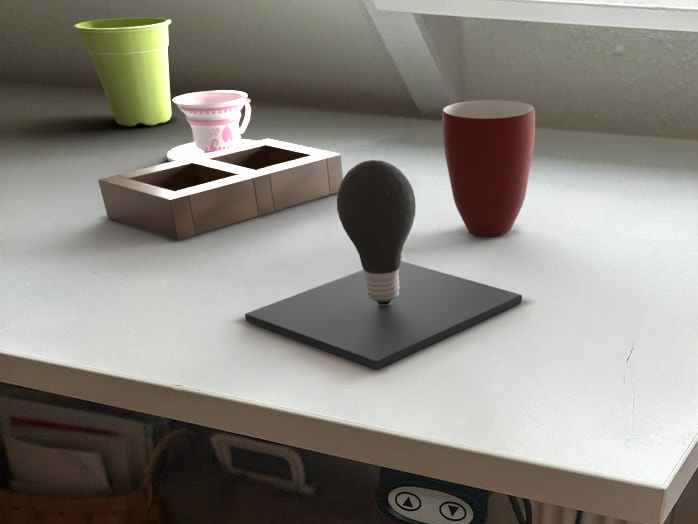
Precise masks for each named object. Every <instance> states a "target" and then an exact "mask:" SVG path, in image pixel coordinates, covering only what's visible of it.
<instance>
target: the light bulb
mask: <svg viewBox="0 0 698 524" xmlns="http://www.w3.org/2000/svg"><path fill="white" fill-rule="evenodd" d="M416 205H417V204H416V197H415V193H414V189H413V186H412V184H411V183H410V181H409V179H408V178H407V176H406V175H405V174H404V173H403V172H402V170H400V169H399V168H398V167H397V166H395V165H393V164H392V163H390V162H387V161H385V160H381V159H369V160H365V161H362V162H359V163H357V164H356V165H354V166H353V167H352V168H351V169H349V170H348V171H347V172H346V174H345V175H344V176H343V180H342V182H341V184H340V187H339V190H338V193H337V195H336V210H337V214H338V218H339V219H338V220H339V221H340V223H341V226H342V227H343V231H344V232H345V233H346V235H347V236H348V238H349V240H350V241H351V243H352V244H353V246H354V248H355V249H356V251H357V253H358V256H359V260H360V264H361V267H362V270H364V271H365V277H366V283H367V284H366V287H367V292H368V296H369V297H370V298H371V299H373V300H375V301H377V302H378V305H380V306H387V305H390V302H391V300H393V299H395V298H396V297H397V296H398V295H399V288H400V287H399V275H398V272H399V267H400V264H401V261H402V252H403V250H404V249H403V248H404V246H405V243H406V241H407V239H408V237H409V236H410V235H409V234H410V233H411V230H412V227H413V225H414V221H415V217H416V208H417V207H416Z"/></svg>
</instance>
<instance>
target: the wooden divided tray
mask: <svg viewBox="0 0 698 524" xmlns="http://www.w3.org/2000/svg"><path fill="white" fill-rule="evenodd" d="M255 141H256V142H252V143H248V144H244V145H240V146H236V147H232V148H227V149H223V150H219V151H215V152H211V153H207V154H202V155H198V156H194V157H190V158H186V159H182V160H177V161H173V162H171V161H169V162H166V163H160V164H157V165H152V166H149V167H144V168H141V169H136V170H131V171H128V172H127V171H126V172H123V173H119V174H116V175H111V176H107V177H103V178H99V179H98V185H99V189H100V191H101V196H102V200H103V205H104V208H105V213H106V217H107V218H108V219H109V220H113V221H117V222H119V223H122V224H126V225H130V226H132V227H136V228H138V229H141V230H145V231H148V232H151V233H155V234H157V235H161V236H164V237H166V238H169V239H173V240H177V241H181V240H184V239H187V238H190V237H194V236H197V235H200V234H204V233H208V232H210V231H214V230H217V229H220V228H224V227H228V226H230V225H234V224H237V223H241V222H244V221H248V220H251V219H254V218H258V217H260V216H263V215H267V214H271V213H274V212H278V211H280V210H284V209H287V208H291V207H294V206H298V205H301V204H304V203H308V202H310V201H314V200H317V199H321V198H323V197H328V196H331V195H334V194H338V190H339V187H340V184H341V182H342V180H343V178H344V176H343V175H344V174H343V173H344V172H343V165H342V163H343V162H342V154H341V153H337V152H332V151H329V150H322V149H319V148H314V147H308V146H305V145H304V146H303V145H299V144H294V143H290V142H285V141H280V140H275V139H270V138H265V139H260V140H255Z"/></svg>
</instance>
